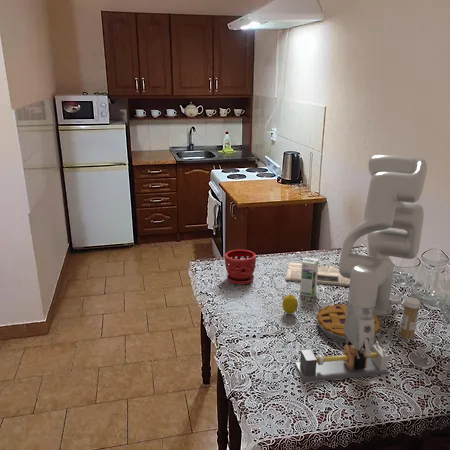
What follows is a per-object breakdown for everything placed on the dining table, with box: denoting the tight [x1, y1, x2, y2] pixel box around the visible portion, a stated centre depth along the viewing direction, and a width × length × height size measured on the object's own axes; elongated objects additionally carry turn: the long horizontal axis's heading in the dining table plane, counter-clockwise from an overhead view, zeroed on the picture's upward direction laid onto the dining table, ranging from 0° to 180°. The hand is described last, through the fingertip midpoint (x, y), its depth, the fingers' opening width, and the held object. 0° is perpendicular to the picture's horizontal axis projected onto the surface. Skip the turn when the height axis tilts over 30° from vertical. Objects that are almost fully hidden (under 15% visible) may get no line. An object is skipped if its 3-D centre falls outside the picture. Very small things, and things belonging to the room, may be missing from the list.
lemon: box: [281, 294, 299, 315], centre depth 156 cm, size 6×6×8 cm
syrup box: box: [299, 256, 320, 298], centre depth 170 cm, size 6×6×14 cm
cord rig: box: [294, 340, 391, 383], centre depth 126 cm, size 26×8×7 cm, turn 98°
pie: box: [315, 303, 383, 344], centre depth 147 cm, size 22×22×5 cm
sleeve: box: [343, 344, 368, 370], centre depth 126 cm, size 5×5×5 cm
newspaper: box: [286, 262, 350, 287], centre depth 189 cm, size 37×19×3 cm, turn 77°
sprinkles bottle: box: [399, 296, 421, 340], centre depth 142 cm, size 5×5×13 cm
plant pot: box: [224, 249, 257, 285], centre depth 182 cm, size 13×13×12 cm
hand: (354, 361), depth 127 cm, fingers closed on sleeve, 5 cm apart
